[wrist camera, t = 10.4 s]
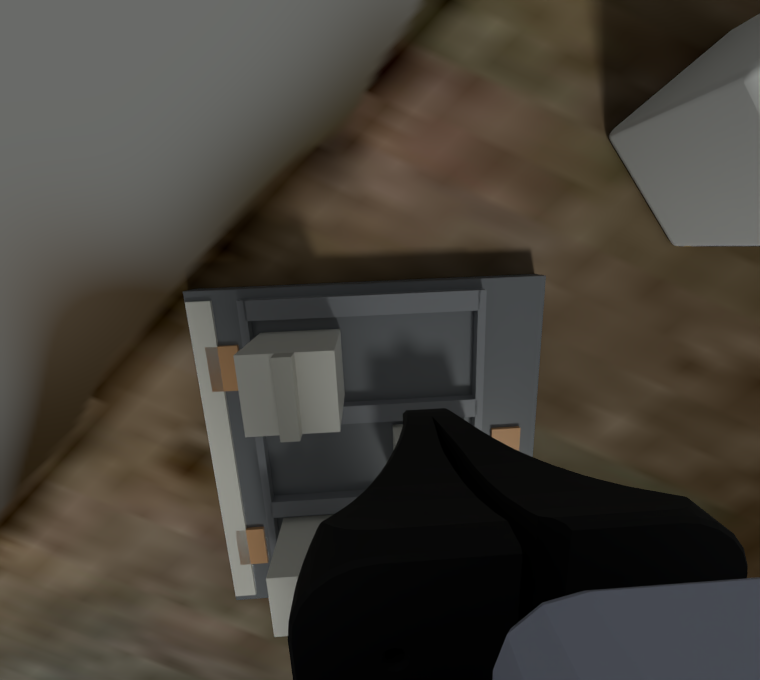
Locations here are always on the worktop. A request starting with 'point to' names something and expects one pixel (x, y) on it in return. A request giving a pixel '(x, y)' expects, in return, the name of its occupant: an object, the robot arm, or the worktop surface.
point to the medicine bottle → (702, 146)
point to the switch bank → (359, 388)
